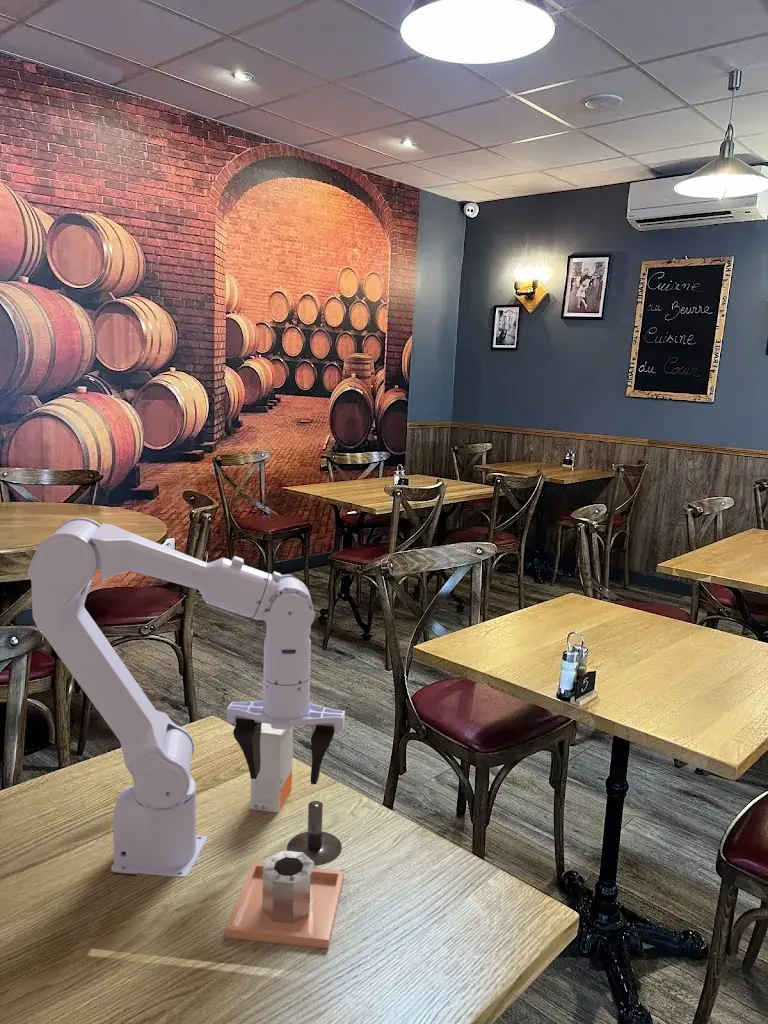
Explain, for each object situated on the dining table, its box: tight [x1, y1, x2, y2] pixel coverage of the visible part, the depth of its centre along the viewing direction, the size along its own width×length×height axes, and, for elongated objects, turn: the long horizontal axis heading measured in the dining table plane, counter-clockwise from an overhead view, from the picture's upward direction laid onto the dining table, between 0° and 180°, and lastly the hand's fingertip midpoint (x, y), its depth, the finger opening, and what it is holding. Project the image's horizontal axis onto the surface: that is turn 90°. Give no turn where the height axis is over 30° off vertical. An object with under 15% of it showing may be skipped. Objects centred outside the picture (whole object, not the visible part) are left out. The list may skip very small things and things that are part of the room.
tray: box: [224, 861, 345, 950], centre depth 85 cm, size 11×11×2 cm
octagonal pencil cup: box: [262, 850, 315, 924], centre depth 85 cm, size 5×5×5 cm
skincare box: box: [250, 723, 294, 814], centre depth 105 cm, size 6×4×12 cm
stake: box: [286, 800, 343, 866], centre depth 95 cm, size 7×7×6 cm
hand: (285, 777), depth 95 cm, fingers open, 7 cm apart
